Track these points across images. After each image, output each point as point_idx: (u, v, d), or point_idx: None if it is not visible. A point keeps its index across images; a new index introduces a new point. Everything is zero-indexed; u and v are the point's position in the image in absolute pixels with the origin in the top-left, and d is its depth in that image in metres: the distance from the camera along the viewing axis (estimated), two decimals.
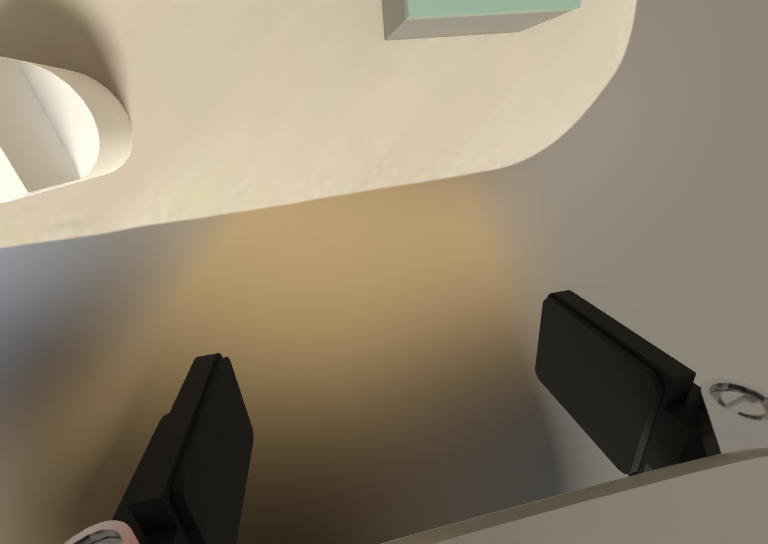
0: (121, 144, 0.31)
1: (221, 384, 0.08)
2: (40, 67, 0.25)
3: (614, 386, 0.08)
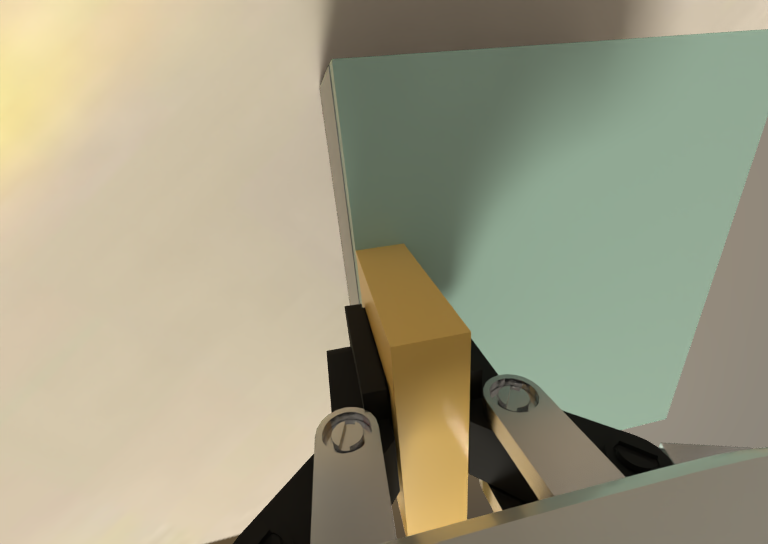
0: None
1: None
2: None
3: None
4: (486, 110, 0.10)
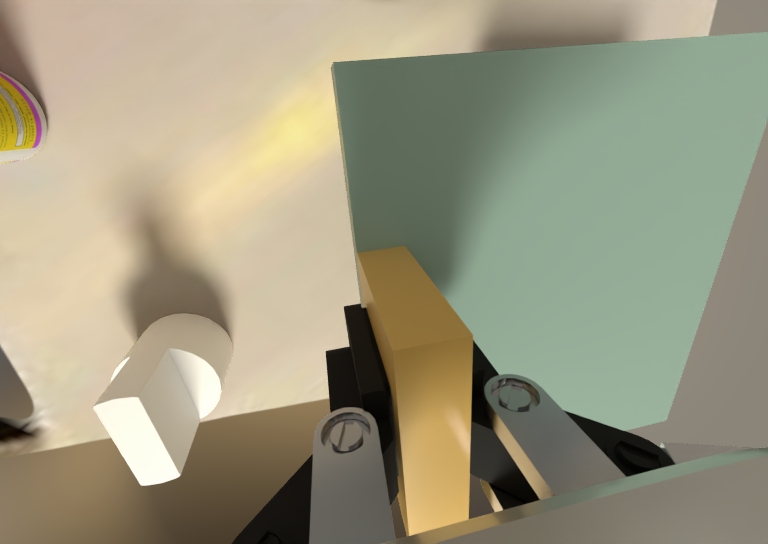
0: (227, 372, 0.37)
1: None
2: (185, 350, 0.31)
3: None
4: (487, 113, 0.10)
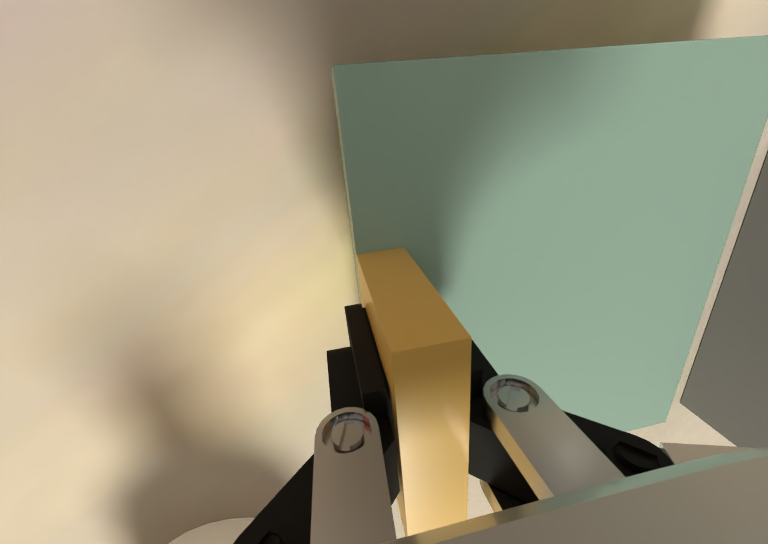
0: None
1: None
2: None
3: None
4: (486, 115, 0.10)
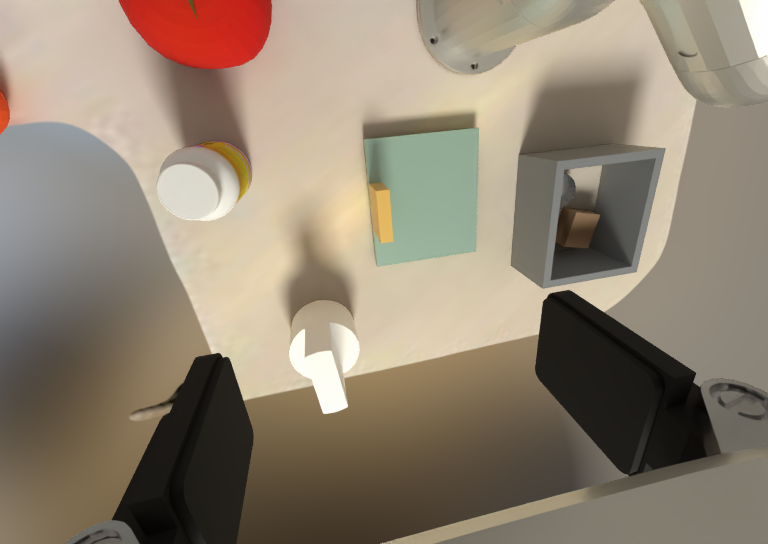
0: None
1: (221, 384, 0.08)
2: (338, 324, 0.45)
3: (614, 386, 0.08)
4: (399, 149, 0.42)
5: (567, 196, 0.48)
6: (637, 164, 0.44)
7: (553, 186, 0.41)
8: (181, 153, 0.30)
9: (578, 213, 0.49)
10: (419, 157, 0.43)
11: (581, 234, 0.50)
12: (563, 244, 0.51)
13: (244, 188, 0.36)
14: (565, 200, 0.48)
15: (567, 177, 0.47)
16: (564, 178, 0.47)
